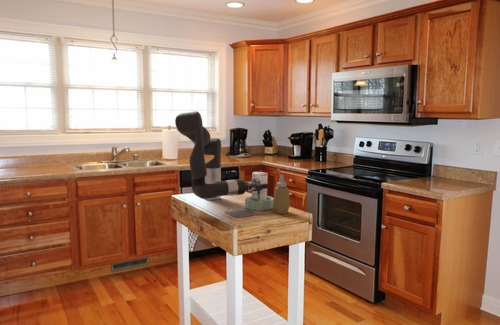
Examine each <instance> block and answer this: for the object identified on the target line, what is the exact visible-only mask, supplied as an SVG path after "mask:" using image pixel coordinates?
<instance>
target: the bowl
mask: <svg viewBox="0 0 500 325" xmlns="http://www.w3.org/2000/svg"><path fill="white" fill-rule="evenodd" d="M273 200H274V196H273V197H272V196H269V195H267V201H253V200H252V195H248V196H247V197H245V200H244V204H245V206H244V207H245V209H249V210H251V211H268V210H269V211H270V210H272V209H274V207H273Z"/></svg>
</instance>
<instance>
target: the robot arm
mask: <svg viewBox="0 0 500 325" xmlns="http://www.w3.org/2000/svg"><path fill="white" fill-rule="evenodd" d="M174 121H175V122H174V123H175V127H176V129H177V131H178V132H179V133H180V134H181V135H182V136H185V137H186V138H188V139H189V140H190V141H191V142H192V143H193V144H194V146H193V148H192V151H191V153H190V156H189V168H190V172H191V190H192V193H193V194H194V195H195V196H196V197H197V198H200V199H201V200H207V201H208V200H209V201H216V200H220V199H222V197H223V196H225V197H226V196H227V197H230V196H232V197H233V196H240V195H244V194H245V193H246V192H252V191H259V190H262V189H266V188H267V189H268V186H269V185H268V183H267V184H256V183H252V181H245V180H244V179H243V178H240V179H237V178H236V179H228V180H222V173H221V170H222V167H221V166H222V165H221V164H222V160H221V158H222V142H221V139H220V137H219V138H216V137H214V138H213V137H212V138H211V133H210V132H209V130H208V129H207V128H206V127H205V126H203V118H202V115H201V113H200V112H199V111H196V110H195V111H187V112H181V113H179V114H177V115H176V117H175V119H174ZM205 156H213V158H212V159H209V160H207V161H206V159H205ZM254 185H255V186H254ZM258 187H259V188H258Z"/></svg>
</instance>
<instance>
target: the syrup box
mask: <svg viewBox="0 0 500 325" xmlns="http://www.w3.org/2000/svg"><path fill="white" fill-rule="evenodd" d="M251 174H252V175H251V176H252V177H251V182H252V183H256V184H267V185H268V177H269V175H268V172H262V171H253V172H252V173H251ZM254 186H255V185H254ZM258 188H259V187H258ZM251 196H252V200H253V201H267V196H268V188H266V189H262V190H259V191H252V190H251Z"/></svg>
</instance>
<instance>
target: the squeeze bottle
mask: <svg viewBox="0 0 500 325" xmlns="http://www.w3.org/2000/svg"><path fill="white" fill-rule="evenodd" d="M278 180H279V181H277V182H276V186H275V187H274V193H273V198H274V200H273V210H274V213H275V214H279V215H284V214H287V213H288V212H289V210H290V208H291V202H290V193H289V192H290V191H289V187H287V186H288V185H287V182H286V181H285V178H284V174H280V176H279V179H278Z"/></svg>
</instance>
